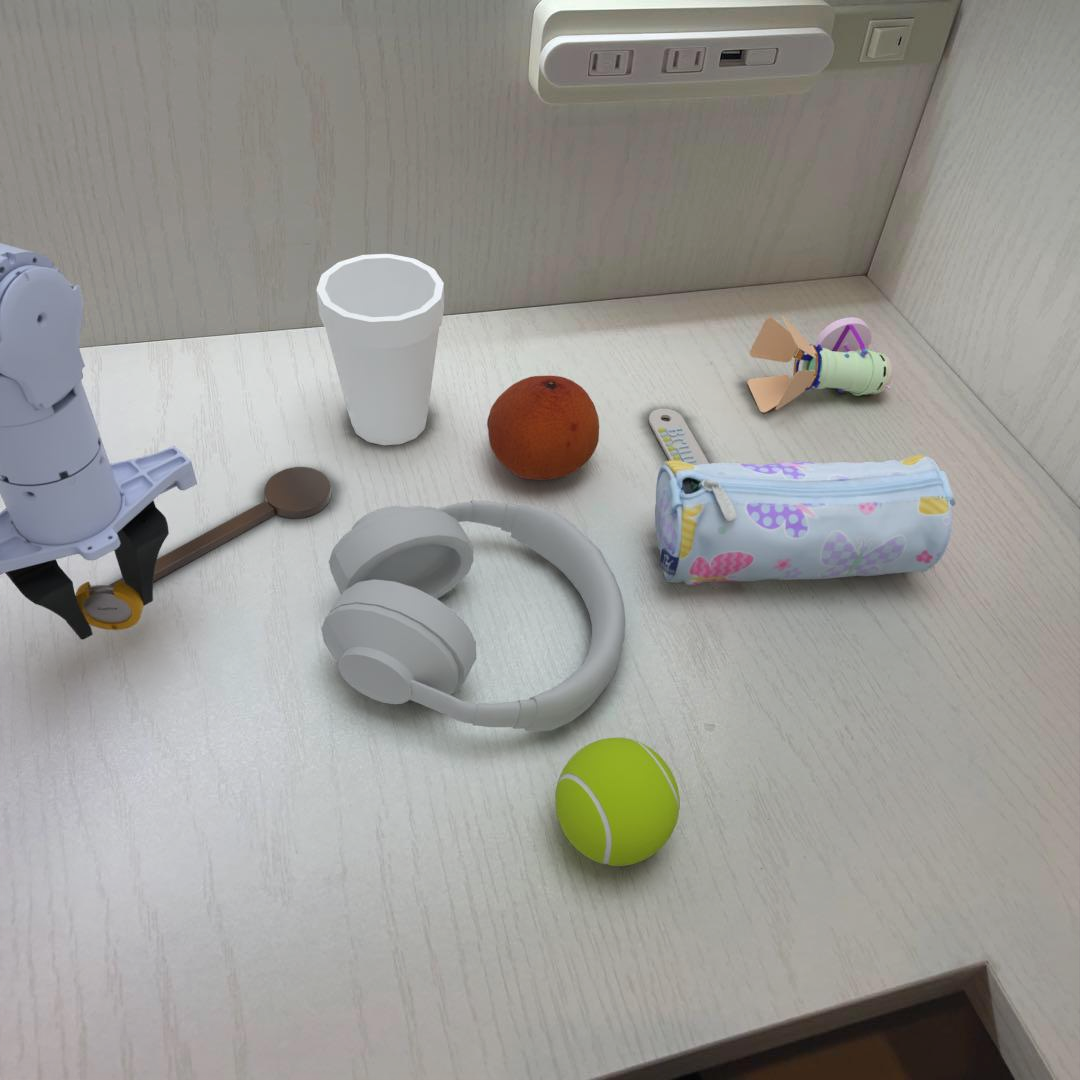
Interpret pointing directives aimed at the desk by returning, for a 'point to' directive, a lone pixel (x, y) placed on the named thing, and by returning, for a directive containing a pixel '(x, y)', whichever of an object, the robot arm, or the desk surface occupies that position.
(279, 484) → the spoon
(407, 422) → the foam cup
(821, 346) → the spotlight
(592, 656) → the headphones
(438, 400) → the desk surface
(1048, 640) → the desk surface
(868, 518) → the pencil case
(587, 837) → the tennis ball
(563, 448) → the fruit
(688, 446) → the keychain
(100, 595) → the tracker
